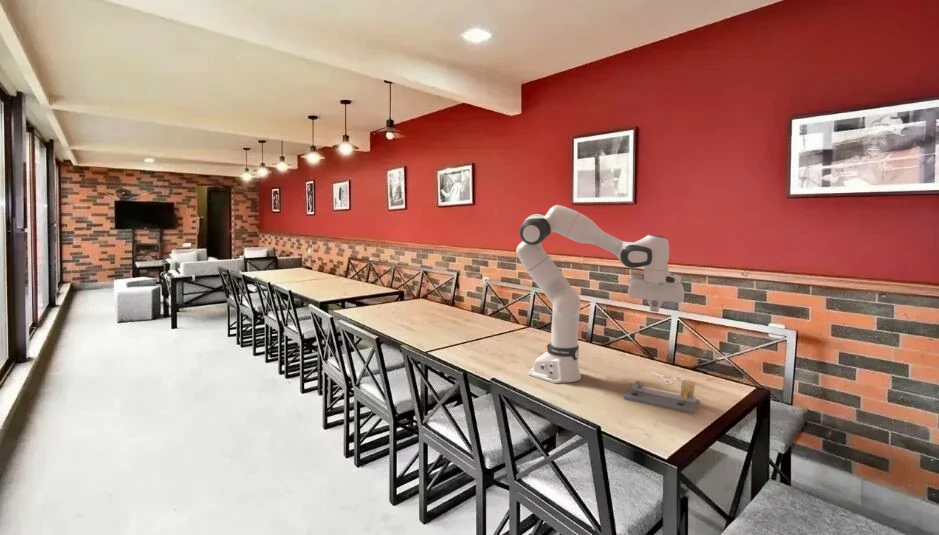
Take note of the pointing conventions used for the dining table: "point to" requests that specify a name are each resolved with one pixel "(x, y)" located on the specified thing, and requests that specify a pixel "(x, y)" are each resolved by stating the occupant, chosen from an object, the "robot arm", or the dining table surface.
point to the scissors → (666, 376)
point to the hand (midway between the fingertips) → (654, 311)
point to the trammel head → (687, 389)
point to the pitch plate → (661, 398)
